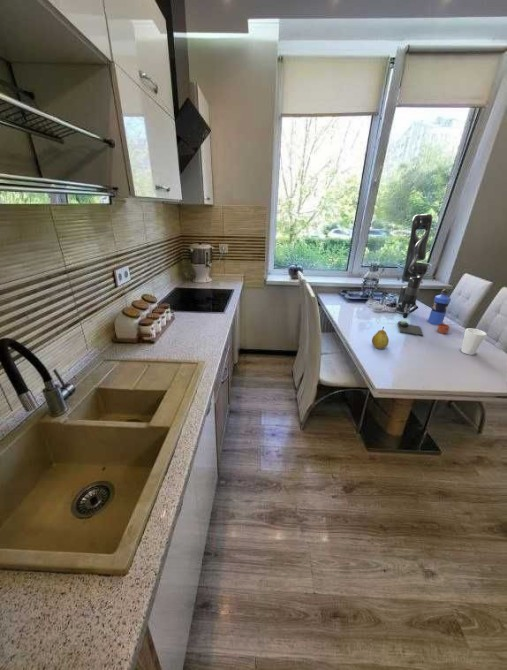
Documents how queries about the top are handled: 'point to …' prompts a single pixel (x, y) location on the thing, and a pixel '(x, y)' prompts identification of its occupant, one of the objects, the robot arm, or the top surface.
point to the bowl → (443, 328)
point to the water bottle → (439, 308)
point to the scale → (409, 329)
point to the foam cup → (472, 340)
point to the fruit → (380, 339)
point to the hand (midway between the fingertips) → (404, 317)
